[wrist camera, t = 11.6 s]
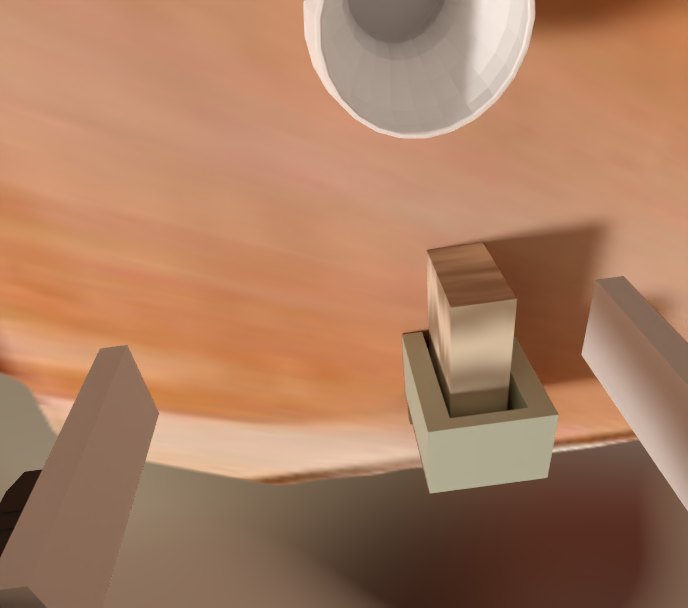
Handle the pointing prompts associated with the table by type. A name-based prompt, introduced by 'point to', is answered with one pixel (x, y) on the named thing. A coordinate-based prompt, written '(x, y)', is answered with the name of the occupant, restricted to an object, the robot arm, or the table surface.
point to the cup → (417, 58)
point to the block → (479, 426)
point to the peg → (470, 329)
